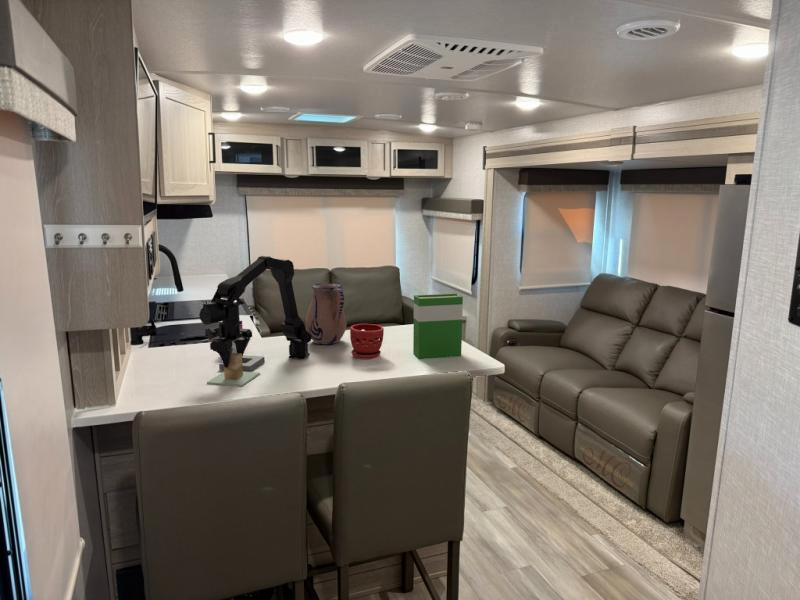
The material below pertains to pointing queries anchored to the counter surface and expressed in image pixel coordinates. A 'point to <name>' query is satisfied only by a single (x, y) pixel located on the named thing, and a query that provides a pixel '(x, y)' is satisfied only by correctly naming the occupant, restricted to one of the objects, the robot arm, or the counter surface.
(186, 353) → the counter surface
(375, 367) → the counter surface
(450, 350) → the hardback book
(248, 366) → the charcoal holder
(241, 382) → the rubber mat
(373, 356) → the plant pot
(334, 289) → the ceramic pitcher
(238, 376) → the oak block
